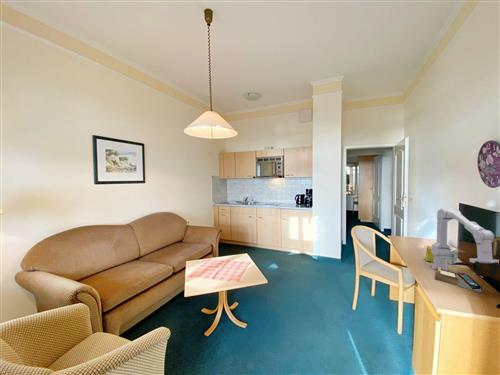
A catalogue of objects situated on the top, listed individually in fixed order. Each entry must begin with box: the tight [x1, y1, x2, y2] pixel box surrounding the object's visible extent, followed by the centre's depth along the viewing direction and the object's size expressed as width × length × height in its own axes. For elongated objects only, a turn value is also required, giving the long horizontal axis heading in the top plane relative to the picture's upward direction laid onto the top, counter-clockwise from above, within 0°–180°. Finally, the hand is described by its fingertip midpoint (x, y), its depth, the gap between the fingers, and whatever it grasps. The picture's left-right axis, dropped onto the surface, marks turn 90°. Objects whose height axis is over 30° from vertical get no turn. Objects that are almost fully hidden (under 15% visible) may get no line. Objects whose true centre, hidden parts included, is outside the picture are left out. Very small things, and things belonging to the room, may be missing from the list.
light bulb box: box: [447, 246, 459, 265], centre depth 159 cm, size 11×7×11 cm, turn 113°
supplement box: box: [425, 245, 434, 264], centre depth 160 cm, size 6×6×11 cm
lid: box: [438, 267, 455, 277], centre depth 133 cm, size 7×8×3 cm
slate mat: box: [457, 278, 483, 294], centre depth 126 cm, size 12×10×1 cm
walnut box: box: [434, 268, 459, 286], centre depth 133 cm, size 10×10×4 cm
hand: (485, 276), depth 117 cm, fingers open, 7 cm apart
